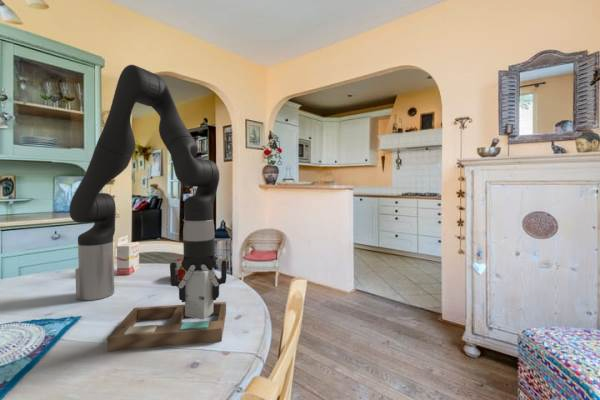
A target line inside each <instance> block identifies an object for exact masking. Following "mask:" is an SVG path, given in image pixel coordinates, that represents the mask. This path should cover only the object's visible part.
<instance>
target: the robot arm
mask: <svg viewBox="0 0 600 400" xmlns="http://www.w3.org/2000/svg"><path fill="white" fill-rule="evenodd" d="M136 103H138V104H140V105H142V106H143V105H144V106H146V107H147V106H148V107H151V108H152V109H153V110H154V111H155V112H156V113H157V115H158V116H159V125H158V133H159V136H160V139H161V141H162V143H163V144H164V146H165V148H166V149H167V151H168V152H169V154H170V158H171V161H172V166H173V170H174V173H175V177H176V179H177V180H178V181H179V182H180V183H181V184H182V185H183V186H186V187H193V188H194V187H196V191H195V193H194V194H193V195H190V196H189V197H186V198H185V199H184V202H183V215H184V216H183V218H184V221H183V230H182V232H183V233H182V240H183V242H182V243H183V245H182V246H183V247H182V248H183V250H182V251H183V258H182V259H183V261H176V260H172V262H171V263H170V264H169V271H170V272H169V274H170V286H171V287H177V288H178V299H179V300H180V301H181V303H185V283H186V282H187V280H188V279H189V277H190V276H191V274H192V272H193V271H195V270H203V271H209V280H211V282H212V283H213V284H214V285H213V301H217V299H218V298H219V296H220V286H221V285H224V284H226V282H227V277H228V275H227V274H228V273H227V270H228V260H227V259H226V258H223V259H217V258H216V256H215V252H216V251H215V250H216V249H215V235H216V232H215V224H214V222H215V221H214V201H215V198H216V195H217V191H218V186H219V182H220V170H219V167H218V165H217V164H216V163H215V162H214V161H213V160H209V159H204V158H195V157H196V156H197V155H198V152H199V145H197V142H196V141H195V139H194V138H193V136H192V135H191V133H190V131H189V130H188V128H187V127H186V125H185V123H184V122H183V120H182V118H181V116H180V113H179V111H178V108H177V106H176V104H175V101H174V98H173V96H172V94H171V92H170V89H169V85H167V83H166V81H165V80H164V79H163V77H162V76H160V75H158V74H156V73H154V72H151V71H150V70H147V69H145V68H143V67H140V66H138V65H135V64H129V65H127V66H125V67H124V68H123V70H122V71H121V72H120V74H119V77H118V80H117V84H116V87H115V91H114V94H113V98H112V103H111V106H110V109H109V112H108V116H107V118H106V119H105V123H104V126H103V128H102V131H101V134H100V136H99V138H98V140H97V141H96V145H95V148H94V150H93V154H92V156H91V159H90V161H89V163H88V166H87V169H86V171H85V173H84V176H83V177H82V179H81V181H80V183H79V184H78V187H77V188H76V190H75V191H74V194H73V196H72V198H71V201H70V202H69V209H68V210H69V216H70V218H71V220H72V221H73V222H75V223H79V224H87V223H94V224H93V226H92V227H91V228H89V229H88V230H86V231H85V232H82V233H80V234H79V235H78V236H77V249H78V250H77V251H78V253H77V254H78V257H77V258H78V267H77V268H75V293H76V294H75V299H76V300H81V301H96V300H100V299H104V298H107V297H109V296H111V295H113V294H115V266H114V265H115V264H114V263H115V261H114V235H115V232H116V215H117V211H116V210H117V209H116V201H115V199H114V197H113V196H112V195H111V194H110V193H106V192H101V191H102V190H103V189H104V187H106V185H108V183H110V182H111V181H113V180H114V179H115V178H117V177H118V176H119V175H121V174H122V173H123V172H124V171H125V170H126V168H128V167H129V164H130V162H131V159H132V158H133V155H134V154H135V150H136V139H135V136H134V132H133V128H132V124H131V117H132V112H133V109H134V106H135V105H136ZM216 265H217V266H218V268H219V269H220V270H221V271H220V277H219V278H218V275H217V274H216V272H215V271H214V273H213V274H212V273H211V271H210V270H212V269H213V268H214V269H215V266H216ZM180 266H182V267H183V268H184V269H185V270H186V272H187V273H186V274H185V276H184V277H183V279H182V281H181V280H178V270H179V268H180Z"/></svg>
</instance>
